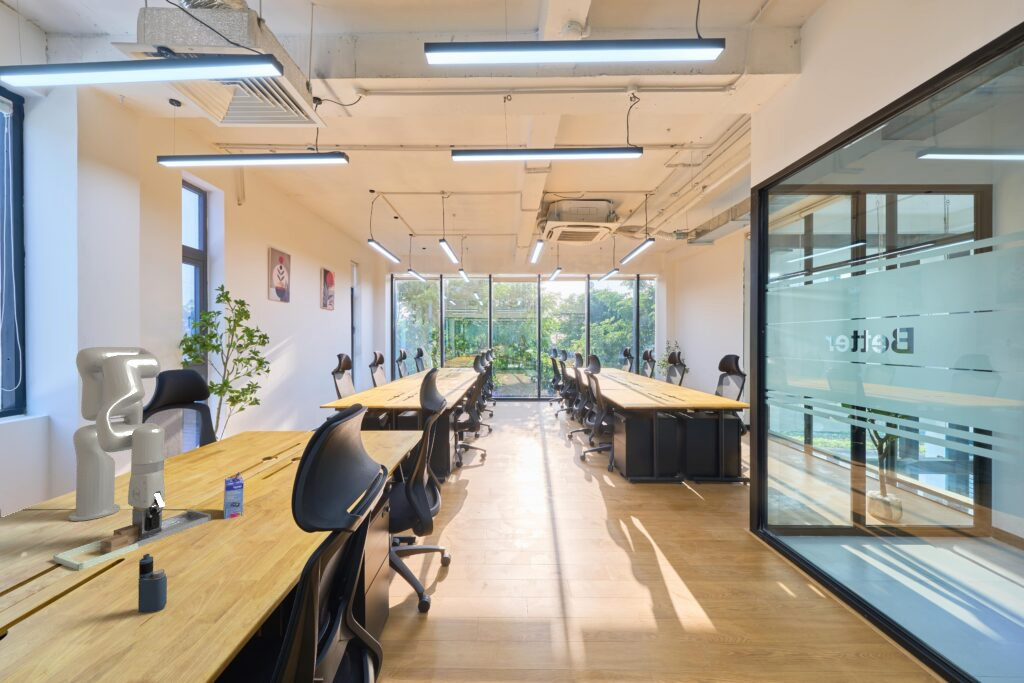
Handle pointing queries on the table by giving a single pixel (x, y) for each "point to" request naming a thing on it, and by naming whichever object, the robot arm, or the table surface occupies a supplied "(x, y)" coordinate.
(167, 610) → the table surface
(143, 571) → the vaping device
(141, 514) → the orange and gray block
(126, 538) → the brown cube
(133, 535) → the tan cardboard cube
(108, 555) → the tray
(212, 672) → the table surface
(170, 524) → the open rectangular box
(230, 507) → the ink cartridge box
